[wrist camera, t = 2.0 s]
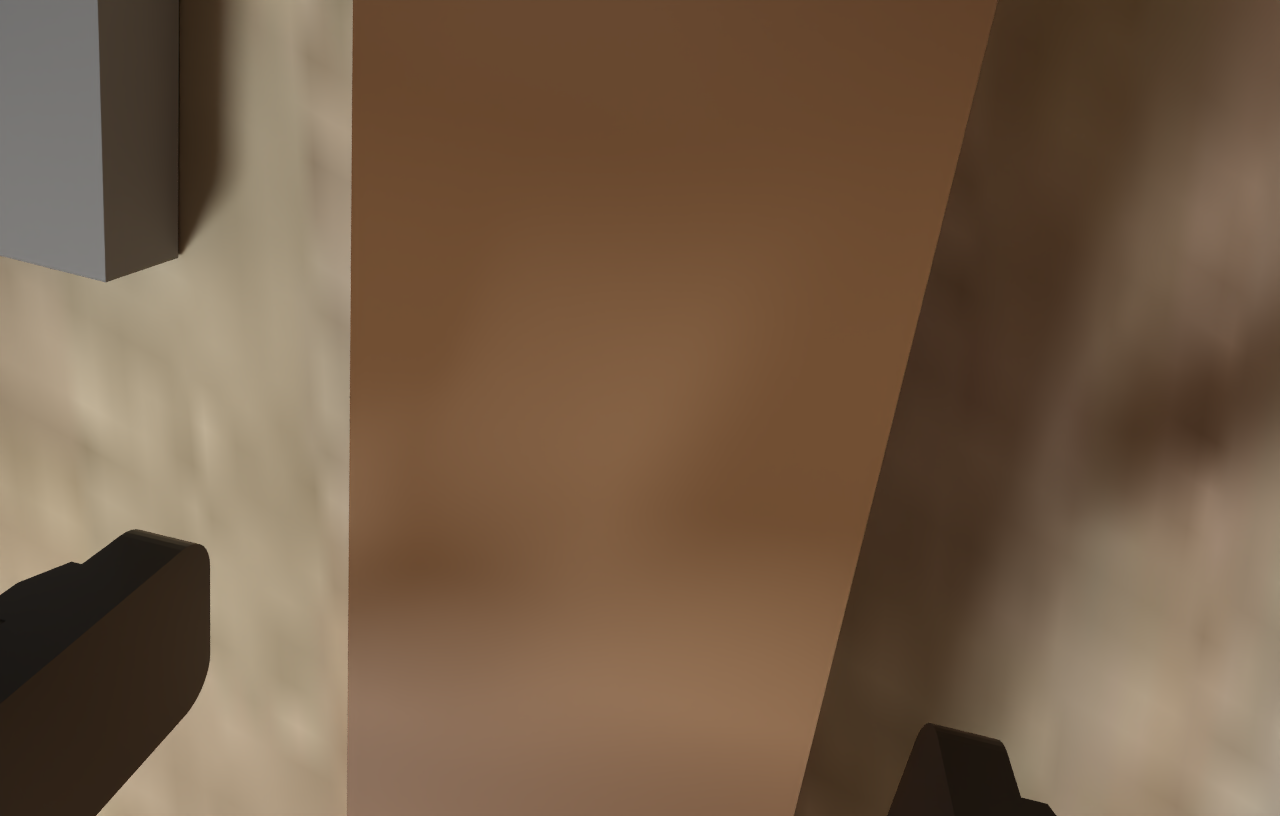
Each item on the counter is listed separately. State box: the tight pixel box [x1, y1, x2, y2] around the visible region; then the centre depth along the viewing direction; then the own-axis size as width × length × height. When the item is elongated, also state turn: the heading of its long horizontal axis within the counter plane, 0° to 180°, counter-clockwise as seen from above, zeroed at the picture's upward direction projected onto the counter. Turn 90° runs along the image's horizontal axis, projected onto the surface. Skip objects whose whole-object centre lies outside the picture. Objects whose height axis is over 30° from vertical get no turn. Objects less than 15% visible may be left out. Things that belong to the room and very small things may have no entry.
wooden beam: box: [347, 0, 998, 816], centre depth 11 cm, size 20×4×6 cm, turn 173°
